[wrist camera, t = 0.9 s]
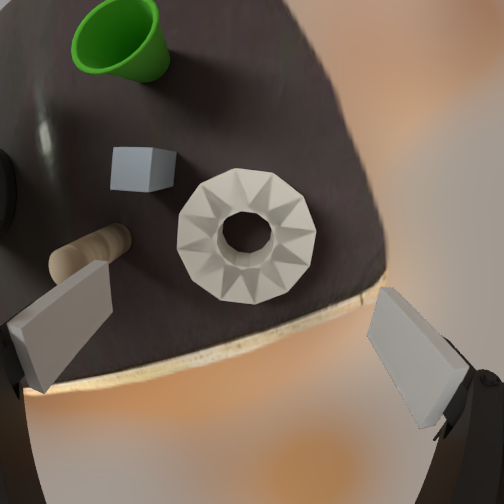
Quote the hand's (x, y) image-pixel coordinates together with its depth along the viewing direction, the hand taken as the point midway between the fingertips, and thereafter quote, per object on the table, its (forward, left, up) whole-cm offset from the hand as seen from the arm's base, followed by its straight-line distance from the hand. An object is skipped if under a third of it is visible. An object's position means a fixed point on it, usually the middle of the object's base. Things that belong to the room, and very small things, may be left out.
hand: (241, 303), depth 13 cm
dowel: (-16, -4, -21) cm, 27 cm away
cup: (-14, +18, -21) cm, 31 cm away
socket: (0, -1, -21) cm, 21 cm away
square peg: (-11, +5, -21) cm, 24 cm away
